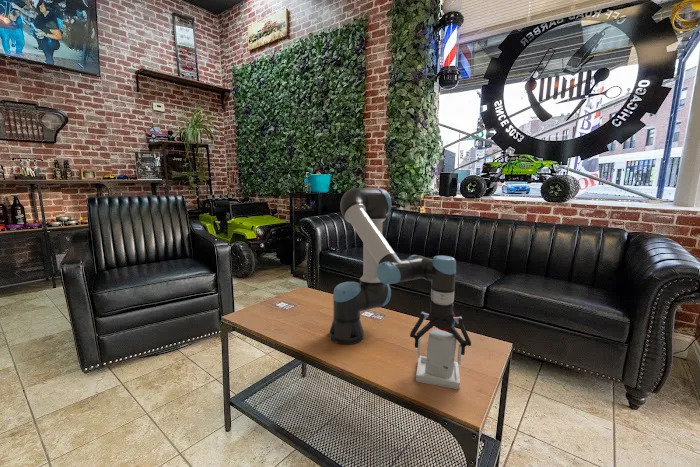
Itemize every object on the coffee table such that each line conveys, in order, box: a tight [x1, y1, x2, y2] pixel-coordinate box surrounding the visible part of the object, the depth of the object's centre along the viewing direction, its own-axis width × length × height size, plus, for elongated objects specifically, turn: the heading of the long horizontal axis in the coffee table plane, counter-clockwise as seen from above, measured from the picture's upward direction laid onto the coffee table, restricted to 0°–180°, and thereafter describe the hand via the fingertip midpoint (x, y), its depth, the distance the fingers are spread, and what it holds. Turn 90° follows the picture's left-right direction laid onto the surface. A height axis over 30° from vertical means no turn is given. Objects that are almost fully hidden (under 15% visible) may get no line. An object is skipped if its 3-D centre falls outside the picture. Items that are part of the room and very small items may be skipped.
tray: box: [415, 355, 461, 390], centre depth 109 cm, size 14×13×2 cm
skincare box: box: [425, 327, 458, 379], centre depth 108 cm, size 8×6×15 cm
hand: (438, 359), depth 109 cm, fingers open, 13 cm apart
